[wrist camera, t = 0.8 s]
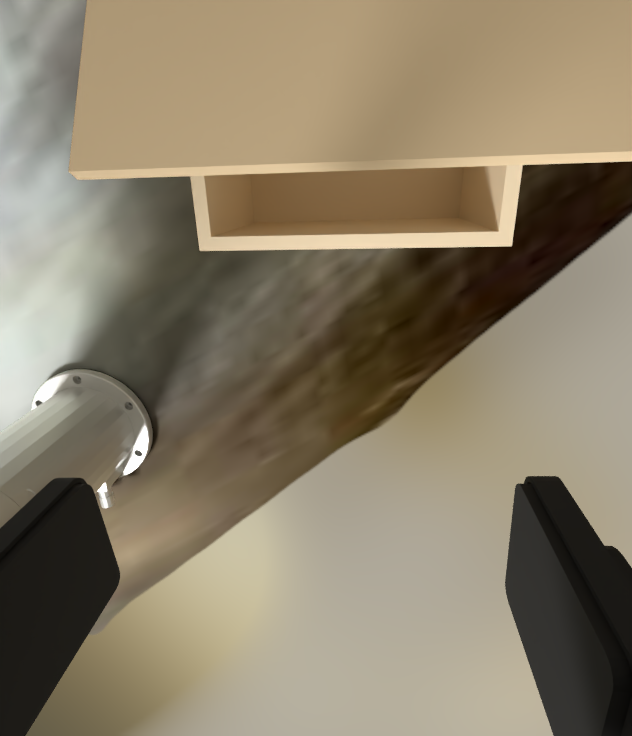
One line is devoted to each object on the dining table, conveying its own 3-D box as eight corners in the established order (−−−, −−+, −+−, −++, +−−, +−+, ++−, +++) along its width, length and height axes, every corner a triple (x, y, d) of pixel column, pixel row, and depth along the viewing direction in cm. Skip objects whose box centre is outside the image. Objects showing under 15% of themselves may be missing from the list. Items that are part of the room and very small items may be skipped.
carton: (466, 227, 36) (511, 246, 25) (248, 231, 38) (199, 251, 27) (501, -144, 28) (594, -365, 16) (219, -115, 29) (132, -296, 18)
